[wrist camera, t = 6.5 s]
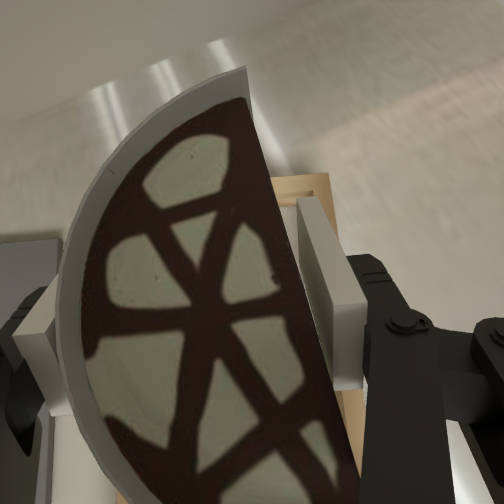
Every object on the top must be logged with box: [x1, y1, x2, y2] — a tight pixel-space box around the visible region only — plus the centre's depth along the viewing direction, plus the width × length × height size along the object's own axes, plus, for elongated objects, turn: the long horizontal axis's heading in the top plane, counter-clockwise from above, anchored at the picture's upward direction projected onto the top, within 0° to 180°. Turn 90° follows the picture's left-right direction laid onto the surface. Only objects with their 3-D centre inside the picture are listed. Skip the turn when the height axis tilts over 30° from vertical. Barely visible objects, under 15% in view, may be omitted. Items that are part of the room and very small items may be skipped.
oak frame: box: [117, 173, 366, 504], centre depth 21 cm, size 12×18×2 cm, turn 5°
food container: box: [55, 66, 361, 504], centre depth 13 cm, size 12×6×10 cm, turn 15°
